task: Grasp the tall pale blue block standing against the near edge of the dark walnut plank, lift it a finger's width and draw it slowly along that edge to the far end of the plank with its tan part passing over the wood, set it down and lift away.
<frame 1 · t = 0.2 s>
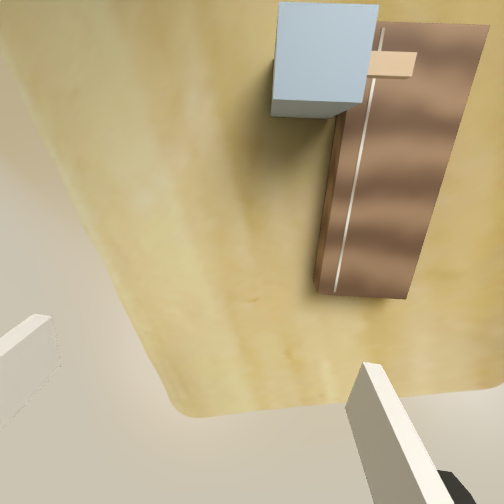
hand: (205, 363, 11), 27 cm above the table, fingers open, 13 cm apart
plank: (374, 181, 34), on the table
pale blue block: (302, 89, 31), on the table
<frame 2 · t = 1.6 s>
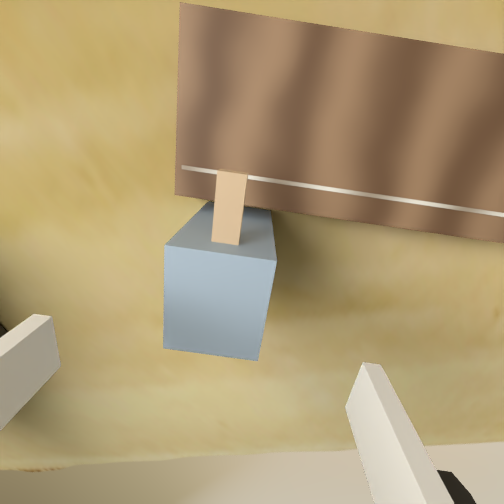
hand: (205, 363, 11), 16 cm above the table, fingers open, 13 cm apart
plank: (364, 142, 22), on the table
pale blue block: (235, 239, 26), on the table
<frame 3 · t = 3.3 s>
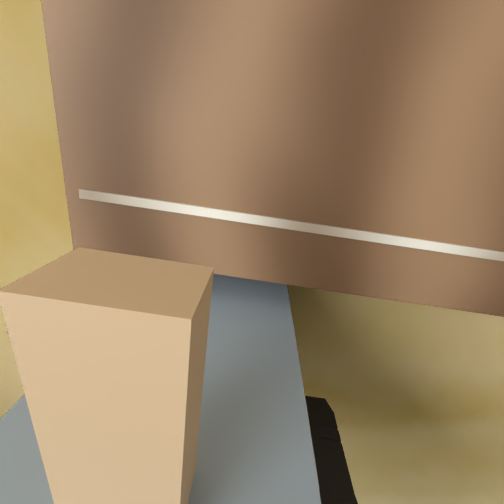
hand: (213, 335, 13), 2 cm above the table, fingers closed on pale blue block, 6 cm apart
plank: (482, 137, 11), on the table
pale blue block: (220, 312, 15), on the table, touching gripper
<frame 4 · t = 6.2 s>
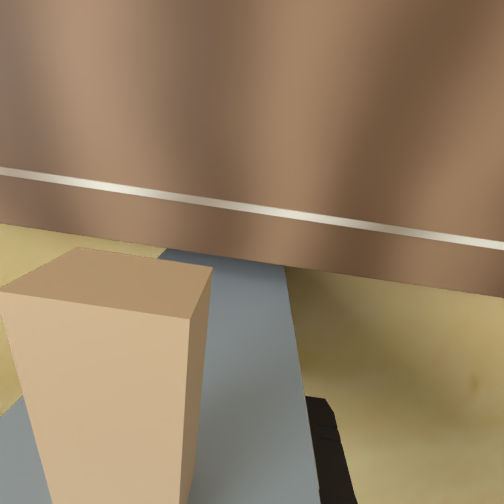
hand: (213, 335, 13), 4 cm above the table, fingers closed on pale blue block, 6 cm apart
plank: (221, 104, 12), on the table
pale blue block: (219, 312, 15), point 2 cm above the table, touching gripper
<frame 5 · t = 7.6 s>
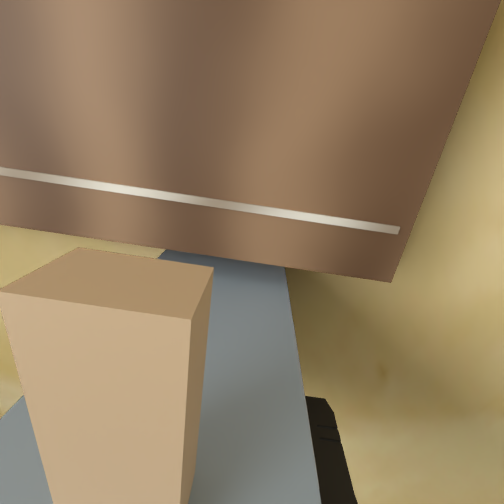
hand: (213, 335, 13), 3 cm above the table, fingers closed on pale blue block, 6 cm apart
plank: (77, 80, 12), on the table
pale blue block: (220, 312, 15), point 1 cm above the table, touching gripper
when the fingers open (2 cm above the table, at t = 9.0 s): pale blue block stays where it is, on the table.
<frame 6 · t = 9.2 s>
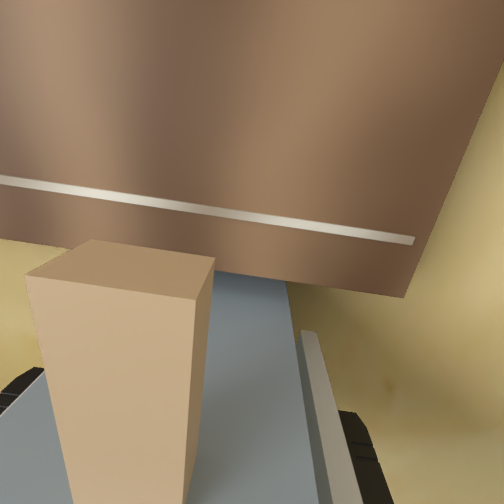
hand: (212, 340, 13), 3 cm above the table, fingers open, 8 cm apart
plank: (55, 73, 11), on the table
pale blue block: (220, 308, 15), on the table
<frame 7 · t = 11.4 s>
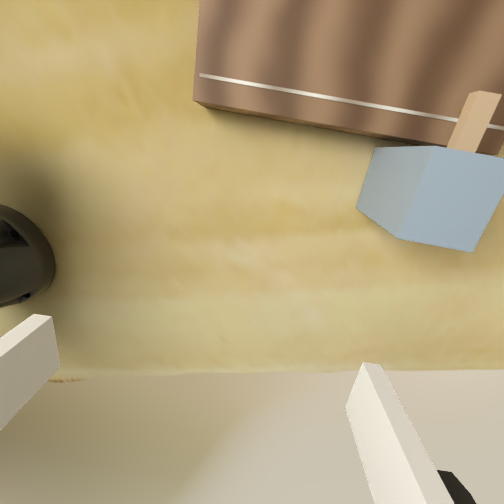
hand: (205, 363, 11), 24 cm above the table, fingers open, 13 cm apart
plank: (351, 66, 27), on the table
pale blue block: (390, 183, 31), on the table
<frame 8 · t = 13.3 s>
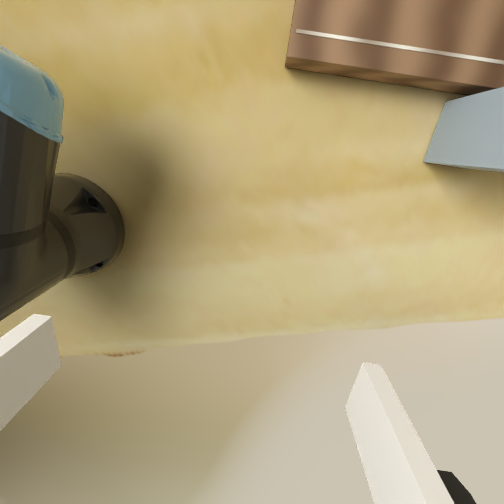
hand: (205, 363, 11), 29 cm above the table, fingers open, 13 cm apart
plank: (428, 23, 29), on the table
pale blue block: (457, 136, 33), on the table
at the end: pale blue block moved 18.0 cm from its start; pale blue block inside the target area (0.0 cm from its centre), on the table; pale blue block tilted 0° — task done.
